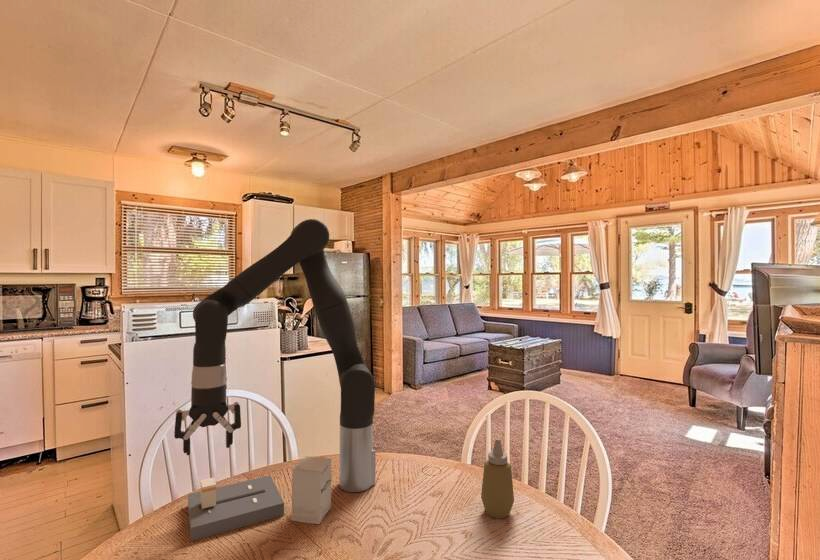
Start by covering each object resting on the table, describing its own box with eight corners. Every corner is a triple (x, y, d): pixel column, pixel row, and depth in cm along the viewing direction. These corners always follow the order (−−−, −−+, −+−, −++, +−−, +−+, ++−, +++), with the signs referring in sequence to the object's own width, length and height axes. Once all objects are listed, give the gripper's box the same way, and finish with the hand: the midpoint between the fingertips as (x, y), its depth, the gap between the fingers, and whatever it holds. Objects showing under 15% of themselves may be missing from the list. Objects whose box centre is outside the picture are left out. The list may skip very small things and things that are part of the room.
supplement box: (319, 525, 95) (320, 471, 95) (290, 521, 97) (290, 468, 96) (332, 507, 102) (332, 457, 102) (304, 504, 104) (305, 454, 104)
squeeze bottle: (520, 511, 101) (520, 439, 101) (503, 526, 95) (504, 449, 95) (491, 499, 106) (492, 431, 106) (474, 512, 101) (474, 439, 101)
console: (270, 485, 113) (270, 474, 113) (284, 515, 99) (284, 501, 99) (188, 506, 103) (188, 493, 103) (190, 541, 89) (190, 527, 89)
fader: (214, 497, 100) (214, 477, 100) (216, 505, 97) (216, 484, 97) (200, 500, 99) (200, 480, 99) (201, 509, 95) (201, 487, 95)
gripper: (238, 376, 105) (238, 439, 105) (174, 382, 97) (174, 450, 97) (243, 383, 98) (242, 450, 98) (175, 390, 91) (174, 463, 91)
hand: (208, 450), depth 98 cm, fingers open, 8 cm apart
